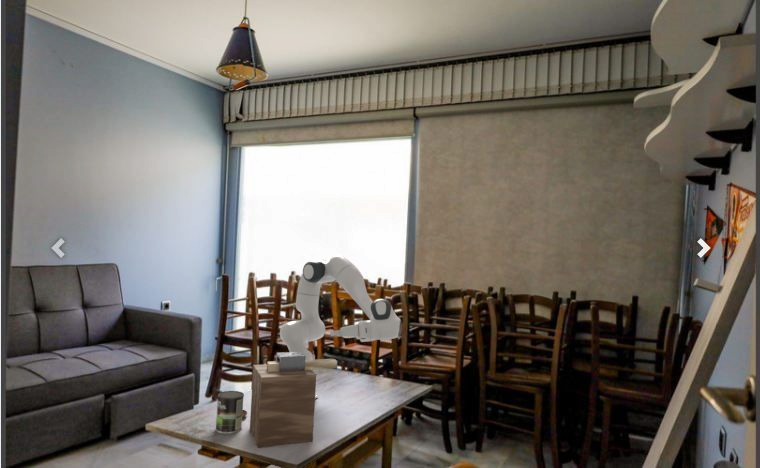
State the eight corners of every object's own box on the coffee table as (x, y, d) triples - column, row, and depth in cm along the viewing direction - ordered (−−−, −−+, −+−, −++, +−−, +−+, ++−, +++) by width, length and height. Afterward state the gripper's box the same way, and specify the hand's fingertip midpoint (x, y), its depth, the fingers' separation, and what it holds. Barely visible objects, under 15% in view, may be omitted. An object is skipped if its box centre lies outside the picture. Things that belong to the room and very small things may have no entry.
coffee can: (223, 436, 194) (225, 399, 194) (211, 428, 201) (213, 393, 202) (246, 430, 201) (248, 395, 202) (234, 423, 209) (236, 389, 209)
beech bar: (266, 369, 198) (267, 361, 198) (333, 365, 208) (334, 358, 209) (268, 371, 194) (269, 363, 194) (336, 368, 205) (337, 360, 205)
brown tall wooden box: (249, 429, 203) (253, 365, 203) (300, 424, 211) (303, 362, 212) (257, 448, 184) (261, 377, 185) (312, 442, 192) (316, 374, 193)
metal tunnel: (275, 367, 201) (276, 352, 201) (300, 366, 205) (300, 351, 205) (279, 372, 194) (280, 356, 194) (304, 371, 198) (305, 355, 198)
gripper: (364, 325, 222) (333, 327, 221) (362, 322, 202) (328, 325, 202) (365, 339, 220) (334, 342, 220) (363, 337, 200) (329, 340, 200)
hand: (331, 334), depth 211 cm, fingers open, 8 cm apart
